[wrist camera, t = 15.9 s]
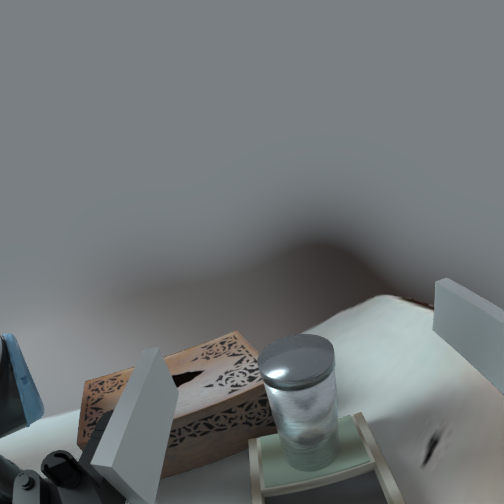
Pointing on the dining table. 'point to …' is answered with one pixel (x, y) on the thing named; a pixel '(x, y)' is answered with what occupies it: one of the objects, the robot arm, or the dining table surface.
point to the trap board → (324, 472)
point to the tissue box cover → (197, 403)
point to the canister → (303, 399)
